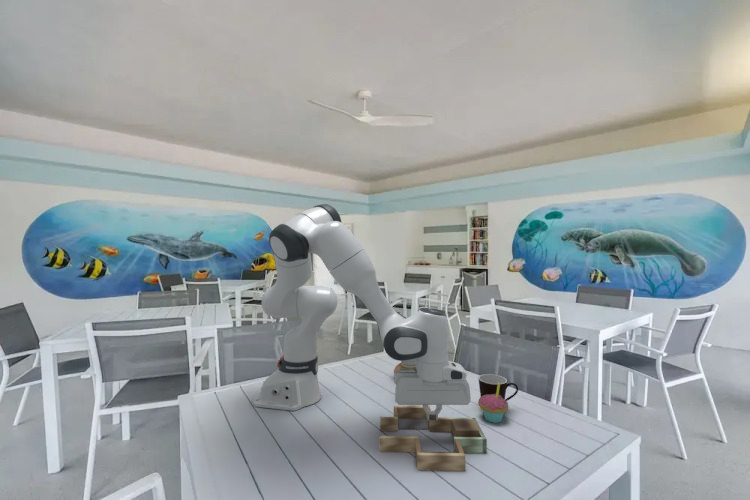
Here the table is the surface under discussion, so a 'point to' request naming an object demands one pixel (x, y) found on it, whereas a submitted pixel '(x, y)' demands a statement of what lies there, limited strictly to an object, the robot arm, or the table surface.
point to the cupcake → (493, 406)
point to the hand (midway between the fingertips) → (432, 419)
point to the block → (464, 428)
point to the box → (417, 420)
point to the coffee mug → (494, 385)
